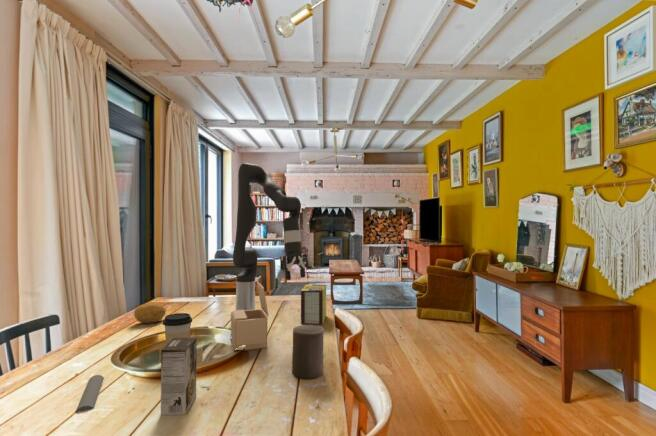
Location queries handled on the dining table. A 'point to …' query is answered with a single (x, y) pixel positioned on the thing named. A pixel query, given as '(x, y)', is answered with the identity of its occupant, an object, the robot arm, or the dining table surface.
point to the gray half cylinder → (90, 393)
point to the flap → (262, 298)
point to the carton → (249, 329)
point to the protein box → (313, 304)
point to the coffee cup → (177, 326)
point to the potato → (150, 312)
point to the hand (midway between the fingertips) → (295, 278)
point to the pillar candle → (307, 351)
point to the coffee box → (178, 376)
